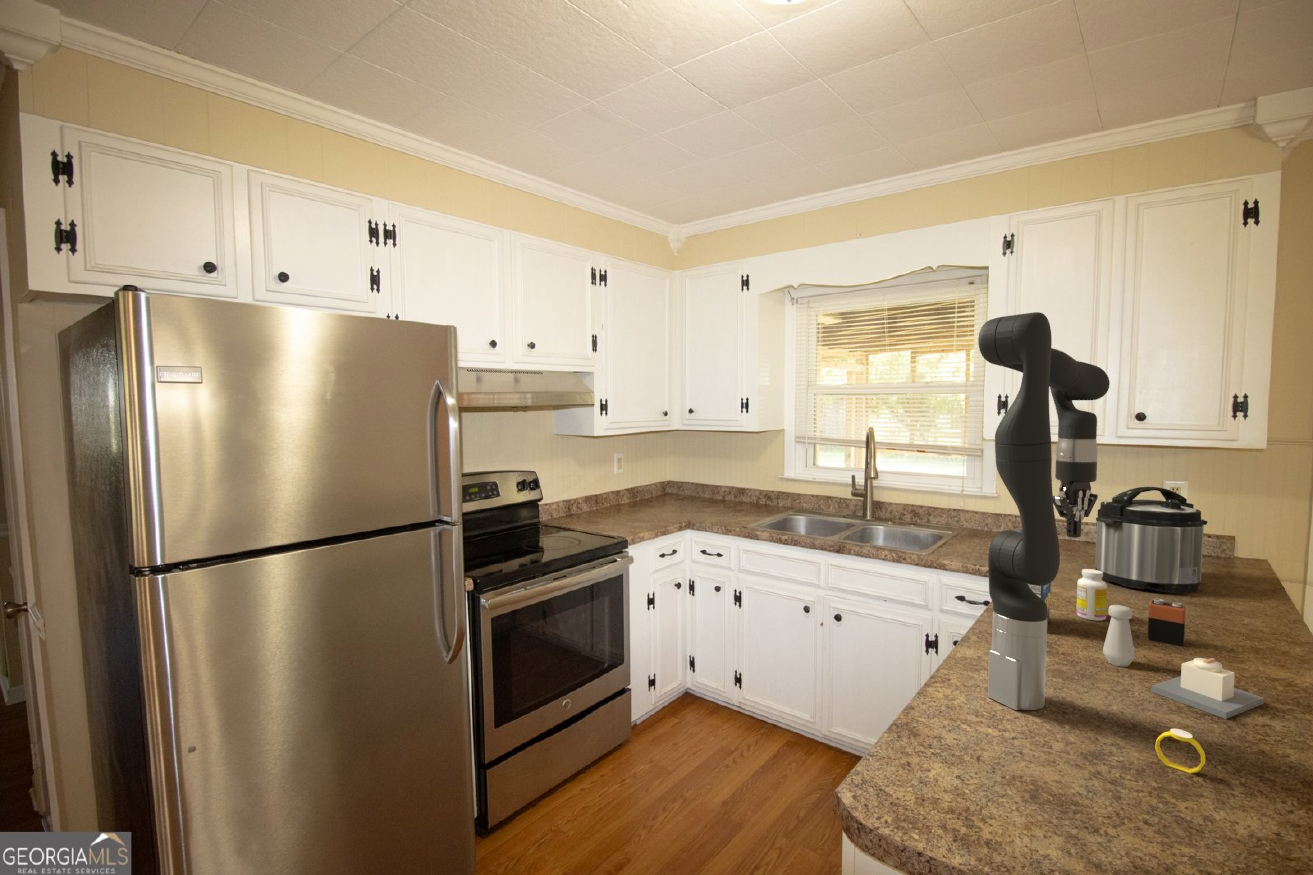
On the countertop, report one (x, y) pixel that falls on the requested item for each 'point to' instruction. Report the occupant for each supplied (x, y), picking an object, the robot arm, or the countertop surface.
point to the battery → (1166, 622)
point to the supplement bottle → (1092, 595)
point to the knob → (1207, 678)
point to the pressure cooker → (1150, 542)
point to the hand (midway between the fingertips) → (1073, 536)
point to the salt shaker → (1119, 637)
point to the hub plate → (1208, 699)
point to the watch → (1181, 736)
